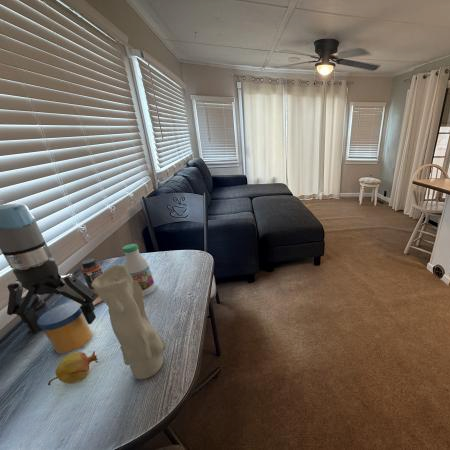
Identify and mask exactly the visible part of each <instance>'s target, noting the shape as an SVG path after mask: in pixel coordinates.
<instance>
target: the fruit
mask: <svg viewBox="0 0 450 450" xmlns="http://www.w3.org/2000/svg"><path fill="white" fill-rule="evenodd" d="M97 357H98V354H96V352H95V351H93V352H92V353H91V355H90V356H87V354H86V352H83V351H76V352H72V353H70V354H67V355H66V356H64V357H63V358H61V360H60V361H59V362H57V363H58V364H57V366H56V369H55V376H56V377H54V378H52V379H50V380H49V381H48V382H47V385H48V386H51V383H52V382H53V381H54V380H57V379H58V380H59V381H60V382H62V383H65V384H74V383H77V382H80V381H81V380H83V379H85V378H86V377H87V375H88V374H89V372H90V364H91V363H92V362H95V363H98V360H99V359H98V358H97Z"/></svg>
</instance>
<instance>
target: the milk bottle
mask: <svg viewBox="0 0 450 450" xmlns="http://www.w3.org/2000/svg"><path fill="white" fill-rule="evenodd" d="M122 252H123V254H124V255H125V258H124V259H125V260H124V263H123V265H124V266H126V267H127V269H128V273H129V275H131V276H132V278H133V280H134V281H135V280H137V282H138V283H139V285H140V287H141V288H142V291H143V297H145V296H148V295H150V294H151V293H153V292H154V291H155V290H156V284H155V280H154V277H153V275H152V270H151V268H150V266H149V262H148V260H147V259H146V258H145V256H143V255H142V254H141V253H140V251H139V246H138V244H137V243H130V244H126V245H125V246H123V247H122Z"/></svg>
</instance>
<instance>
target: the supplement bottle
mask: <svg viewBox="0 0 450 450" xmlns="http://www.w3.org/2000/svg"><path fill="white" fill-rule="evenodd" d="M81 265H82V267H81V269H80V270H81V273H82V275H83V278H84V280H85V283H86V286H87V287H89V288H90V289H94V288H93V287H92V282H93V280H94V279H95V278H97V277H98V276H100V275H101V274H103V273H104V271H103V268H102V266H101V264H100V263H98V262H97V261H96V260H95V258H88V259H85V260H83V261H82V262H81Z"/></svg>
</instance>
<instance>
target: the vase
mask: <svg viewBox="0 0 450 450" xmlns="http://www.w3.org/2000/svg"><path fill="white" fill-rule="evenodd" d="M92 287H93V288H92V289H93V290H94V289H95V290H96V291H97V293H98V294H99V296H100V297H101V299H102V300H103V302H104V303H105V304H106V306H107V307H108V314H109V318H110V319H109V320H110V325H111V328H112V331H113V333H114V335H115V337H116V339H117V341H118V343H119V345H120V347H119V348H120V351H121V353H122V358H123V363H124V365H125V366H129V367H130V371H131V373H132V375H133V377H134V378H135V379H137V380H146V379H149V378H151V377H153V376H155V375H156V374H157V373H158V372H159V371H160V370H161V369H162V367H163V363H164V358H163V352H164V351H165V350H166V348H167V344H166V342H165V340H164V339H163V337H162V336H161V334H159V332H158V330H156V328H155V326H153V325H152V323H151V321H150V320H149V317H148V315H147V313H146V310H145V300H144V296H143V291H142V288H141V287H140V285H139V283H138V282H137V280H135V281H134V280H133V278H132V276H131V275H129V273H128V269H127V267H126V266H124V264H115V265H112V266H111V267H109V268H107V269H105V270H104V271H103V274H101V275H100V276H98V277H97V278H95V279H94V280H93V282H92Z"/></svg>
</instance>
